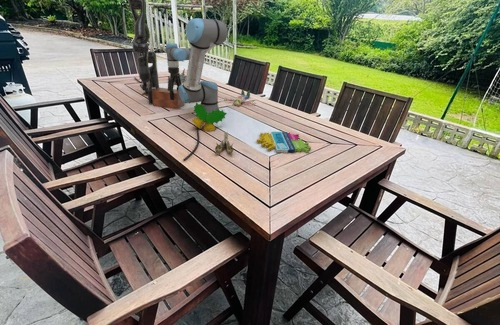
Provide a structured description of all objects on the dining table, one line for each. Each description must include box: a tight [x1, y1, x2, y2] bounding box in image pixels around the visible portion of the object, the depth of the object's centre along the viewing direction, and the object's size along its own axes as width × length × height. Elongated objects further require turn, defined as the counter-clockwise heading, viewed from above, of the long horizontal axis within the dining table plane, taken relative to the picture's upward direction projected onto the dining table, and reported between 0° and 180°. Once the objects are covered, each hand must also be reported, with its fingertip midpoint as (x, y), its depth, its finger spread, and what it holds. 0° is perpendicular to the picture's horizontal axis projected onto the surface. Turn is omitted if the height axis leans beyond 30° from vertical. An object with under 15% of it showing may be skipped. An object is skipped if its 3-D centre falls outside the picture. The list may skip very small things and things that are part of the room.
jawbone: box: [214, 131, 234, 156], centre depth 136 cm, size 9×15×10 cm
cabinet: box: [152, 87, 185, 110], centre depth 197 cm, size 20×11×12 cm, turn 78°
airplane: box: [165, 68, 187, 85], centre depth 265 cm, size 38×32×10 cm
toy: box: [223, 89, 257, 106], centre depth 219 cm, size 28×7×30 cm
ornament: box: [191, 102, 228, 132], centre depth 162 cm, size 21×8×15 cm, turn 105°
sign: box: [256, 131, 312, 154], centre depth 152 cm, size 26×2×30 cm
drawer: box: [141, 88, 155, 105], centre depth 198 cm, size 24×9×10 cm, turn 78°
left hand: (147, 95), depth 200 cm, fingers closed
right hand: (175, 97), depth 196 cm, fingers closed on cabinet, 11 cm apart
